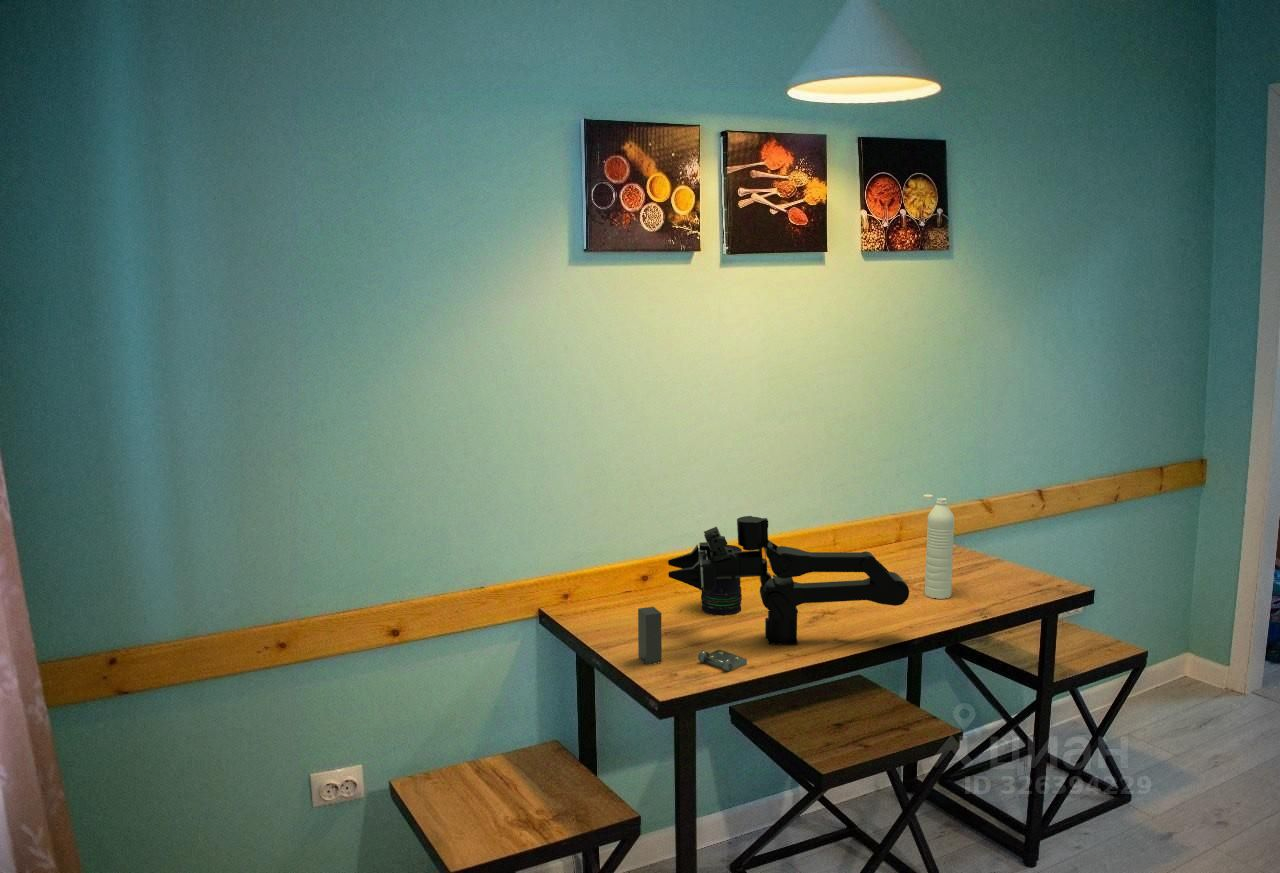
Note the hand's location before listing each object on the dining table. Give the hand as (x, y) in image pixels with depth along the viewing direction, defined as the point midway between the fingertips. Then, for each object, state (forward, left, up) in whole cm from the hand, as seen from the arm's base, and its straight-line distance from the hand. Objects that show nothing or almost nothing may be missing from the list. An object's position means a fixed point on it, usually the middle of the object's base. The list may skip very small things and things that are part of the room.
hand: (668, 568), depth 238 cm
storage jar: (-12, -22, -17) cm, 30 cm away
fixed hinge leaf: (-12, +14, -17) cm, 24 cm away
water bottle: (-66, -35, -17) cm, 77 cm away
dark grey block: (+4, +12, -17) cm, 21 cm away
